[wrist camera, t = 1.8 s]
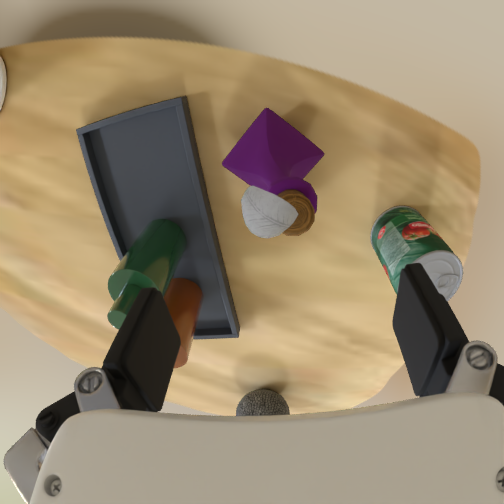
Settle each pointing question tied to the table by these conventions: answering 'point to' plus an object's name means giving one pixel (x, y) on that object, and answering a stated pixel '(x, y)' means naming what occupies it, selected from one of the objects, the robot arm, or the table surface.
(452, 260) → the canned tomato
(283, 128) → the perfume bottle
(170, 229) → the green bottle
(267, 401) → the decorative ball
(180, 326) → the amber bottle
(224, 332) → the tray
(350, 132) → the table surface
